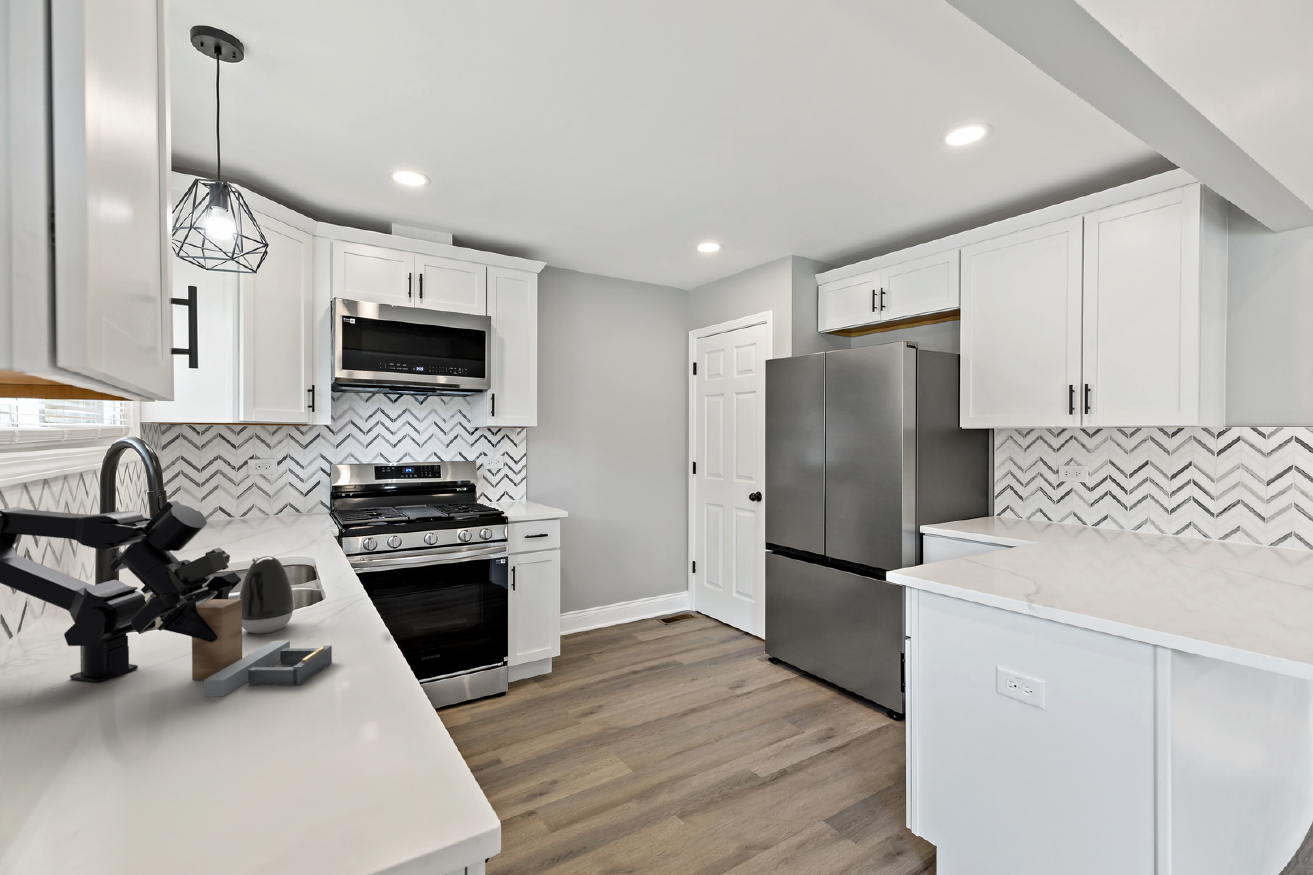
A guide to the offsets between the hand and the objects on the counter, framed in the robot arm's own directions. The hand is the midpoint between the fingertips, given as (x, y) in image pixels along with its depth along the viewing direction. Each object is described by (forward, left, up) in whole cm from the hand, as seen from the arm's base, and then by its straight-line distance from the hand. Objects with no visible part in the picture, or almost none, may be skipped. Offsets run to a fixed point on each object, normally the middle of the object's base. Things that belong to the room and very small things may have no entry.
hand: (225, 634), depth 106 cm
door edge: (+4, +1, -7) cm, 8 cm away
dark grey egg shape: (-14, +20, -7) cm, 25 cm away
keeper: (+10, +3, -7) cm, 12 cm away
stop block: (-1, 0, -7) cm, 7 cm away
